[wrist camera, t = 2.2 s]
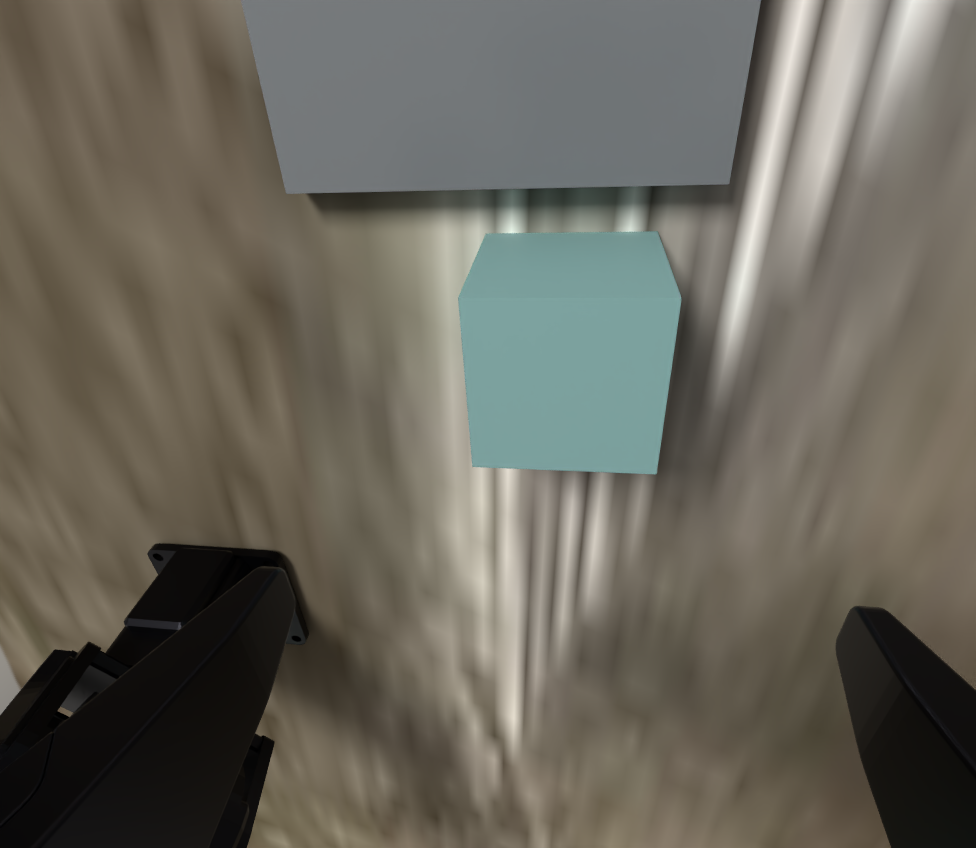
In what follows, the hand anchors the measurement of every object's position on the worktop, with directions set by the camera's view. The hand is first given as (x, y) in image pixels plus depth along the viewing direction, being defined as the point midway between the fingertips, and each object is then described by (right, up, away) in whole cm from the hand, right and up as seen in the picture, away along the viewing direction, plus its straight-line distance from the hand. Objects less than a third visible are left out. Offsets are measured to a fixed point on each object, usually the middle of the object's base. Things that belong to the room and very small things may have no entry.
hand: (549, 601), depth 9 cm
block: (+2, +6, +9) cm, 11 cm away
